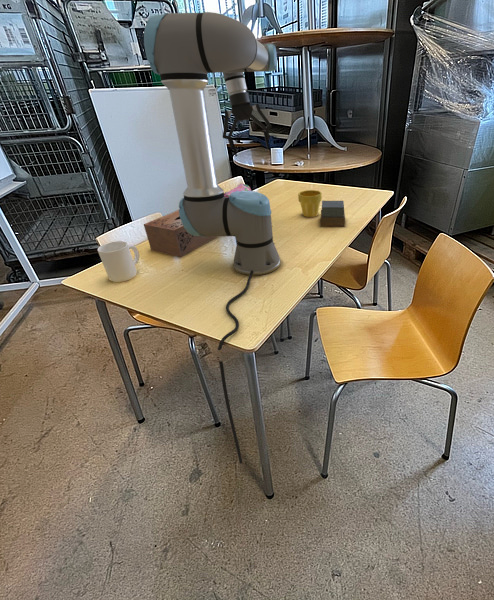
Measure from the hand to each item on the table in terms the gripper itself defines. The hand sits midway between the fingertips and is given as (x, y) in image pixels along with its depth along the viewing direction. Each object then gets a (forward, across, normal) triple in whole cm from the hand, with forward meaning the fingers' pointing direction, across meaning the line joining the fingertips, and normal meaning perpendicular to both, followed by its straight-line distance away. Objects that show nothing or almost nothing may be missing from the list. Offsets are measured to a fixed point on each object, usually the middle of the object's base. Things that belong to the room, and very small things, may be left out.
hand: (252, 152), depth 138 cm
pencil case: (+23, +13, -18) cm, 32 cm away
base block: (+32, -26, +15) cm, 44 cm away
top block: (+28, -26, +15) cm, 42 cm away
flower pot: (+30, -19, +3) cm, 36 cm away
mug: (+24, +50, +43) cm, 70 cm away
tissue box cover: (+25, +32, +20) cm, 45 cm away
